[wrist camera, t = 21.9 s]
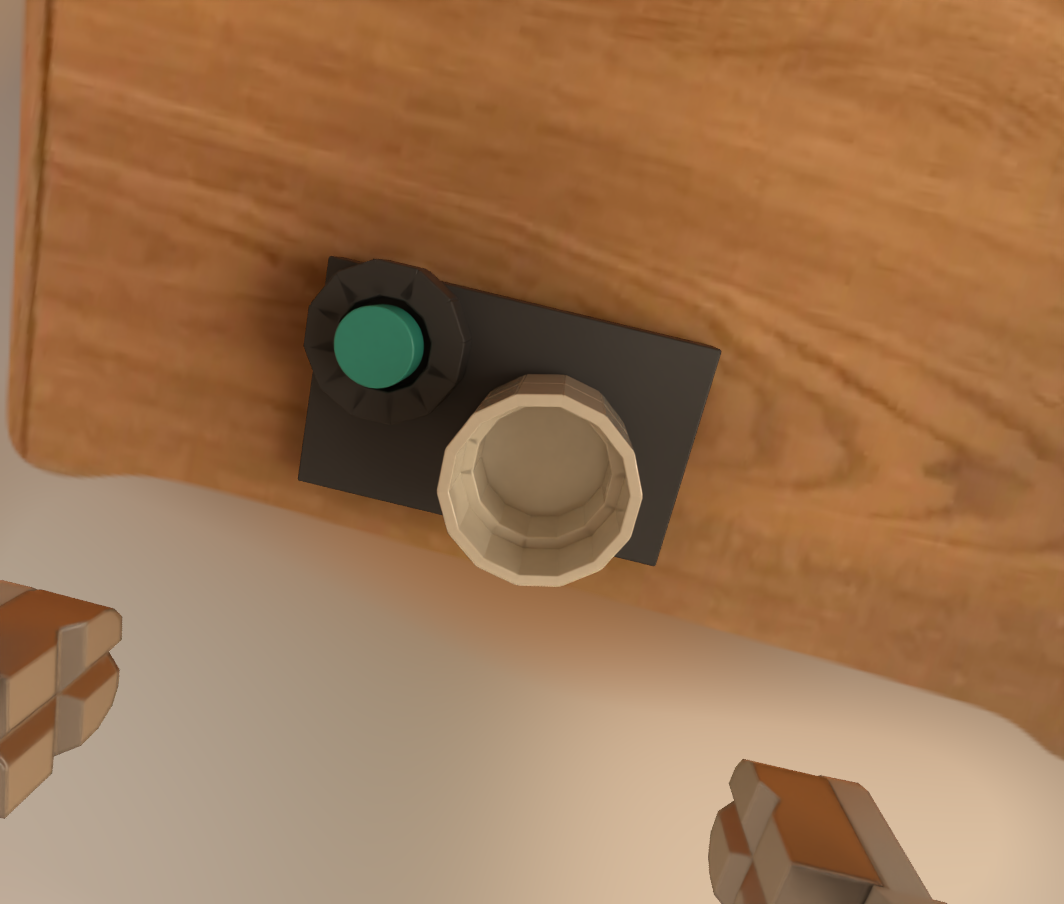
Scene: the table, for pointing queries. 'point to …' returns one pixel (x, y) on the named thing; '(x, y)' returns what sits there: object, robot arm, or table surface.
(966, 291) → the table surface
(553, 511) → the beige cup
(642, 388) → the scale
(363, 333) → the button
